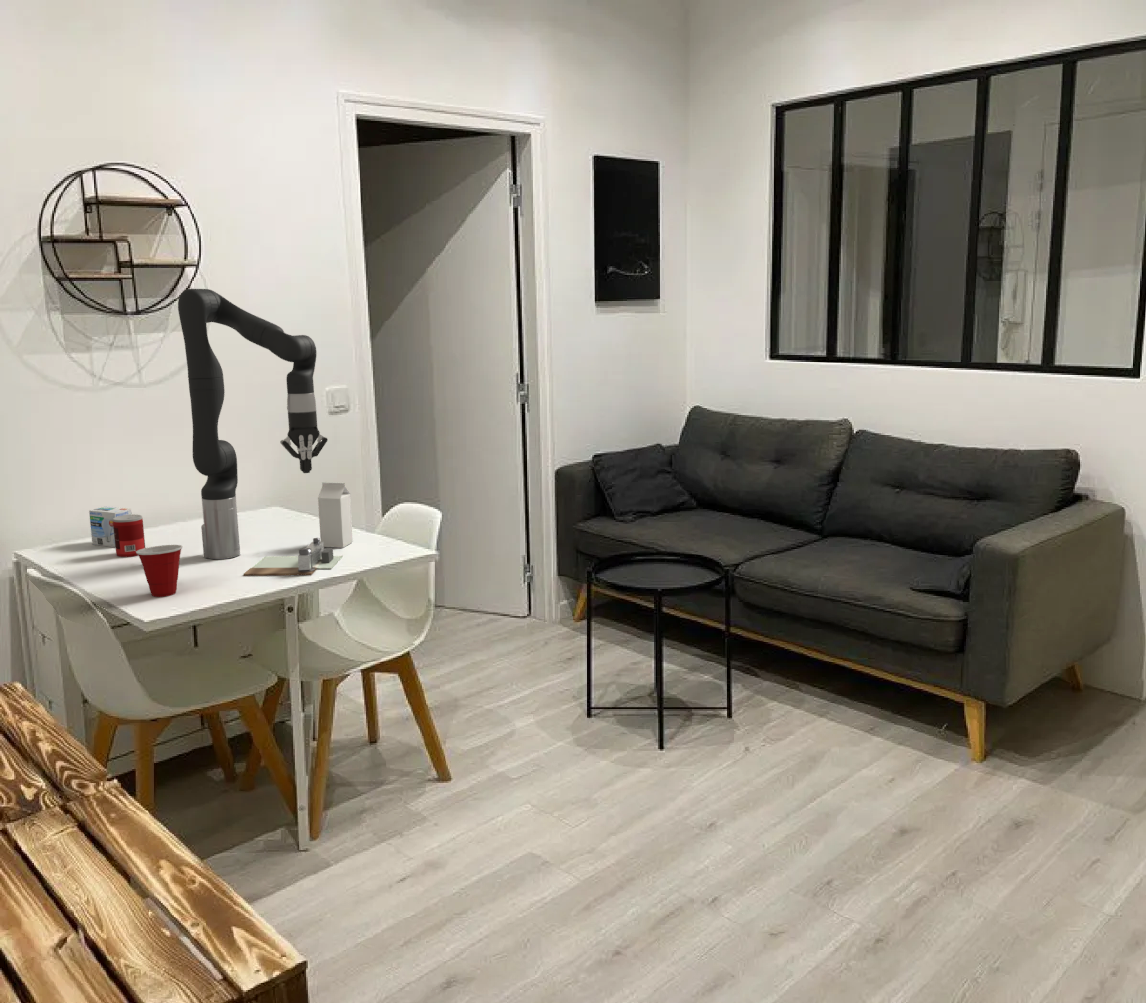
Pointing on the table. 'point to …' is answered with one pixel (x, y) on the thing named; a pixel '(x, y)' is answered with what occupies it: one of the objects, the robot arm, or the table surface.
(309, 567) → the lock bar
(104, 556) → the table surface
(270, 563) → the door panel
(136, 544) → the canned food
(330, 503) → the milk carton
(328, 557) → the block
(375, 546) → the table surface
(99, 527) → the light bulb box
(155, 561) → the plastic cup
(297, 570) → the strip
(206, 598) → the table surface
